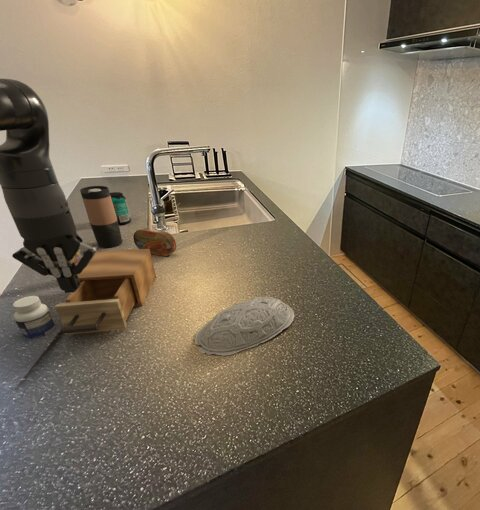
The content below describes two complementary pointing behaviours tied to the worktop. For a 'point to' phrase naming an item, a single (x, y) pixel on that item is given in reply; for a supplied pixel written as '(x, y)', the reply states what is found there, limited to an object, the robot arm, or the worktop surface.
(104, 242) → the travel mug
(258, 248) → the worktop surface
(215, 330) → the turtle shell
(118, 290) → the drawer
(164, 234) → the tin
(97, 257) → the cabinet
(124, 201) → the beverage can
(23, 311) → the pill bottle
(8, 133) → the robot arm
